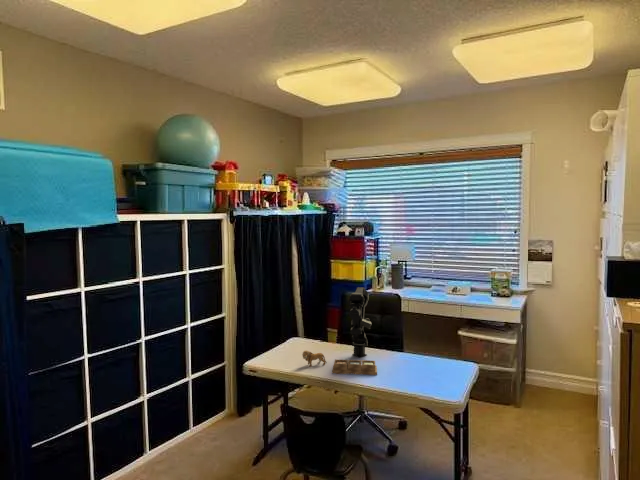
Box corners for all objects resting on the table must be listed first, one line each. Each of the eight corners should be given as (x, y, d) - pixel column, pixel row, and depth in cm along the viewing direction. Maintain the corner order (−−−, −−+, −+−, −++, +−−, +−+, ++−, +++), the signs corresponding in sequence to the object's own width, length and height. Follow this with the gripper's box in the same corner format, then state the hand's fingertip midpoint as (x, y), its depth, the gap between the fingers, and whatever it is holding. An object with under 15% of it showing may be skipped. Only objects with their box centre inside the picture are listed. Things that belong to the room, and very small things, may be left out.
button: (350, 369, 240) (350, 365, 239) (350, 365, 244) (350, 361, 244) (359, 369, 239) (359, 365, 239) (359, 366, 244) (359, 362, 244)
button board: (332, 373, 238) (332, 364, 238) (333, 367, 248) (333, 358, 248) (377, 374, 236) (377, 366, 235) (376, 368, 246) (376, 359, 245)
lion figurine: (304, 368, 247) (304, 352, 246) (301, 365, 252) (300, 349, 251) (328, 364, 252) (328, 349, 251) (324, 361, 257) (324, 346, 256)
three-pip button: (336, 368, 240) (336, 364, 240) (336, 365, 245) (336, 361, 245) (345, 368, 240) (345, 364, 240) (345, 365, 245) (345, 361, 245)
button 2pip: (363, 369, 239) (363, 365, 239) (364, 366, 244) (364, 362, 244) (373, 369, 238) (373, 365, 238) (373, 366, 243) (373, 362, 243)
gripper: (370, 319, 243) (370, 347, 244) (370, 311, 262) (370, 337, 263) (350, 319, 244) (350, 346, 245) (351, 311, 263) (351, 337, 264)
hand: (356, 342), depth 254 cm, fingers closed
